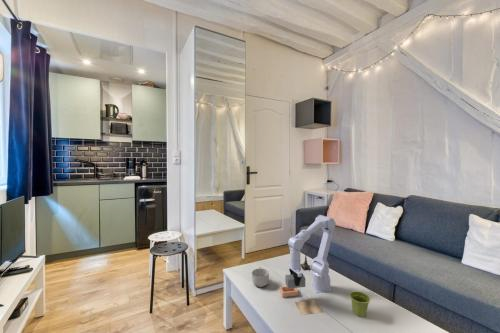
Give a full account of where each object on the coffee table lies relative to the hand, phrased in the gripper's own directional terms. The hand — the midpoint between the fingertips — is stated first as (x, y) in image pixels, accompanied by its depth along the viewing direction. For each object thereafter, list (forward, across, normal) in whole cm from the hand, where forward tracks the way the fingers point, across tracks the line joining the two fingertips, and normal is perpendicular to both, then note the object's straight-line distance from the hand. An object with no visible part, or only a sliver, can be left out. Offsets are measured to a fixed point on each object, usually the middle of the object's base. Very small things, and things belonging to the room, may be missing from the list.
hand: (295, 282), depth 127 cm
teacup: (+10, -19, -16) cm, 27 cm away
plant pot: (+10, +17, +28) cm, 34 cm away
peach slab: (+9, -5, -2) cm, 11 cm away
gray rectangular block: (+2, 0, 0) cm, 2 cm away
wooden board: (+9, +8, +4) cm, 13 cm away
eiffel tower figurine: (+10, -31, +20) cm, 38 cm away
